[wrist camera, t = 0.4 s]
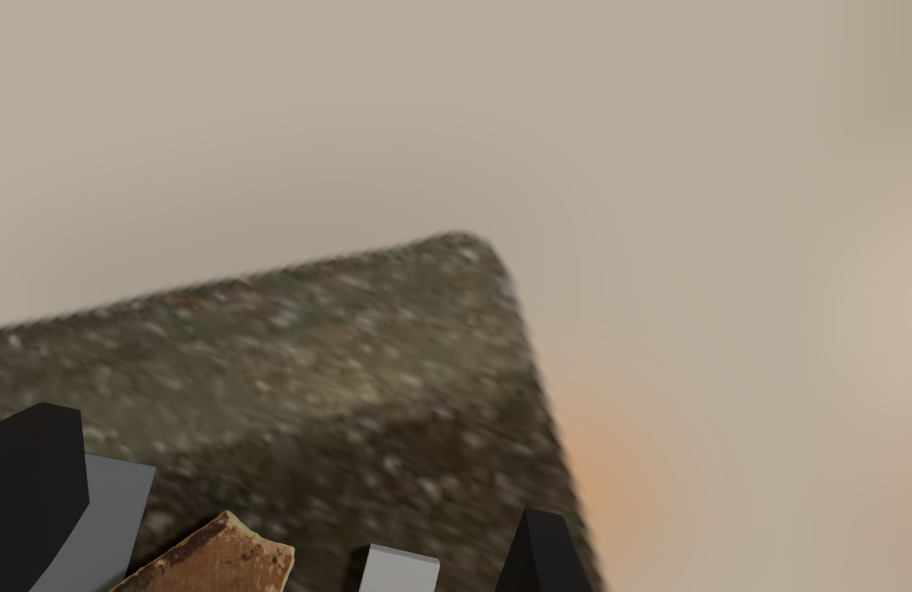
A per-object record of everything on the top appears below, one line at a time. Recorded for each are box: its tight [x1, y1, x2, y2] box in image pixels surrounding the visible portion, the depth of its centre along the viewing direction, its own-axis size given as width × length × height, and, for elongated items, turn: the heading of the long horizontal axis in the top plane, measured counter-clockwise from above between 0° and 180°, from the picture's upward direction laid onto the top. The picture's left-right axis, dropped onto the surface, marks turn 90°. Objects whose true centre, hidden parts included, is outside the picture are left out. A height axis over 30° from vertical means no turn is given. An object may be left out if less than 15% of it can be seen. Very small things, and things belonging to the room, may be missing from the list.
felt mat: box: [29, 453, 156, 592], centre depth 32 cm, size 14×10×1 cm
